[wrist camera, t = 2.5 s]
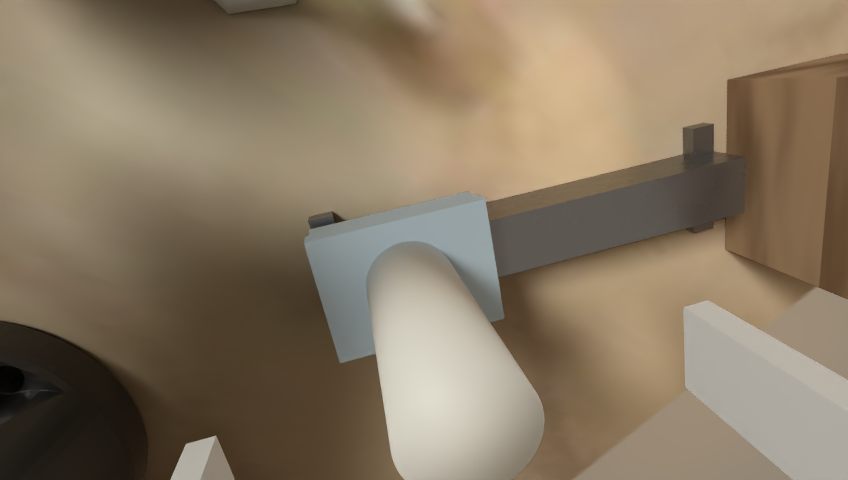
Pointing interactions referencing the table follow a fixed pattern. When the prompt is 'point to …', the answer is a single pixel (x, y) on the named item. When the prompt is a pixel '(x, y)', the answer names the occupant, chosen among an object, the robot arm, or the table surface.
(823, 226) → the wooden button housing
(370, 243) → the carriage
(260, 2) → the flask
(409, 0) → the table surface
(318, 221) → the rail
